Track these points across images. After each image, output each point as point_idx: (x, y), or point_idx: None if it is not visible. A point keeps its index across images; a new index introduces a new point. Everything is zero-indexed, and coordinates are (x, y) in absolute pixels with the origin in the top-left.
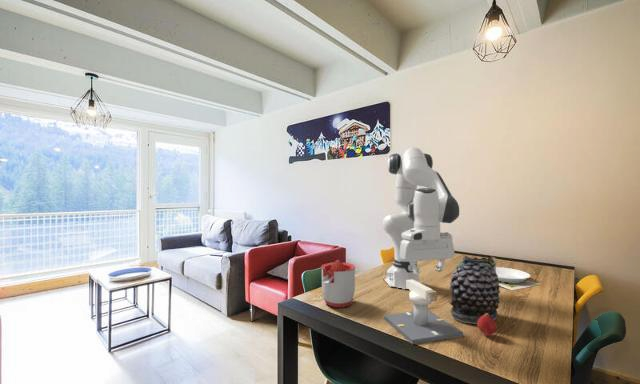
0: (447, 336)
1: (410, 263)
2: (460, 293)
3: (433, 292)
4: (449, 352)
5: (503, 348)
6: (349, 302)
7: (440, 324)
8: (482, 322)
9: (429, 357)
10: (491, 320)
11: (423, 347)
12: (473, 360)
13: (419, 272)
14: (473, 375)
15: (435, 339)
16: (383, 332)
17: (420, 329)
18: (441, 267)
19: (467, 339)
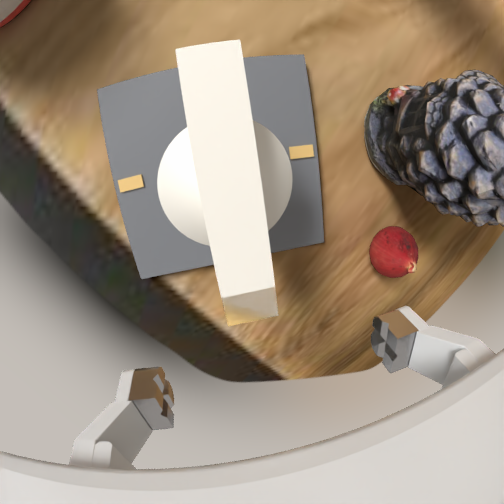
0: None
1: (81, 443)
2: (431, 177)
3: (255, 319)
4: None
5: (365, 296)
6: (19, 6)
7: None
8: (383, 267)
9: (170, 328)
10: (405, 274)
11: (171, 288)
12: (267, 339)
13: (173, 401)
14: (235, 376)
15: None
16: (75, 196)
17: None
18: (407, 360)
19: (318, 254)
